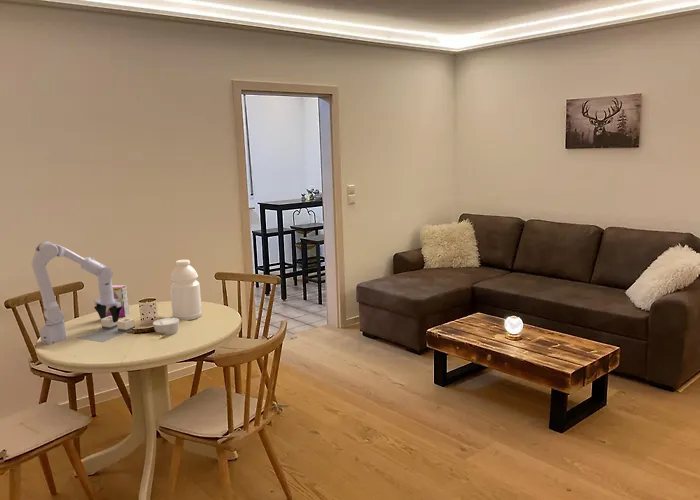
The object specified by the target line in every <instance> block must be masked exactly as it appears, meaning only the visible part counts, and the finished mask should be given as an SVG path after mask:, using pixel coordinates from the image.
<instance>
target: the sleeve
mask: <svg viewBox="0 0 700 500" xmlns="http://www.w3.org/2000/svg"><path fill="white" fill-rule="evenodd" d="M100 324H101V325H100V326H101V328H102V329H108V330H111V329H114V328H116V327H117V322H113V319H112V316H108V317H105V318H102V319H100Z"/></svg>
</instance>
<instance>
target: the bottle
mask: <svg viewBox="0 0 700 500" xmlns="http://www.w3.org/2000/svg"><path fill="white" fill-rule="evenodd" d="M190 264H191V260H189V259H179V260H176V261H175V267H174V268H173V270H172V271H171V273H170V276H169V280H170V281H171V284H170V285H169V290H170V291H169V292H170V300H171V301H170V302H171V310H172V318H177V319H179V321H191V320H192V321H193V320H196V319H199V318H201V317H202V315H203V310H202V299H201V297H202V296H201V287H200V286H201V285H200V284H201V283H200V282H199V281H198V280H197V278H198V277H199V274H198V272H197V271H196V269H195V268H194V267H193V266H192V265H190Z"/></svg>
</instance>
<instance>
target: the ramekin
mask: <svg viewBox="0 0 700 500" xmlns="http://www.w3.org/2000/svg"><path fill="white" fill-rule="evenodd" d="M179 325H180V320H179V319H177V318H173V317H164V318H159V319H157V320H154V321H153V322H152V326H153V328H154V331H155V332H156V333H161V334H160V336H161V337H163V336H170V335H174V334H176V333H178V331H179V327H180V326H179Z"/></svg>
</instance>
